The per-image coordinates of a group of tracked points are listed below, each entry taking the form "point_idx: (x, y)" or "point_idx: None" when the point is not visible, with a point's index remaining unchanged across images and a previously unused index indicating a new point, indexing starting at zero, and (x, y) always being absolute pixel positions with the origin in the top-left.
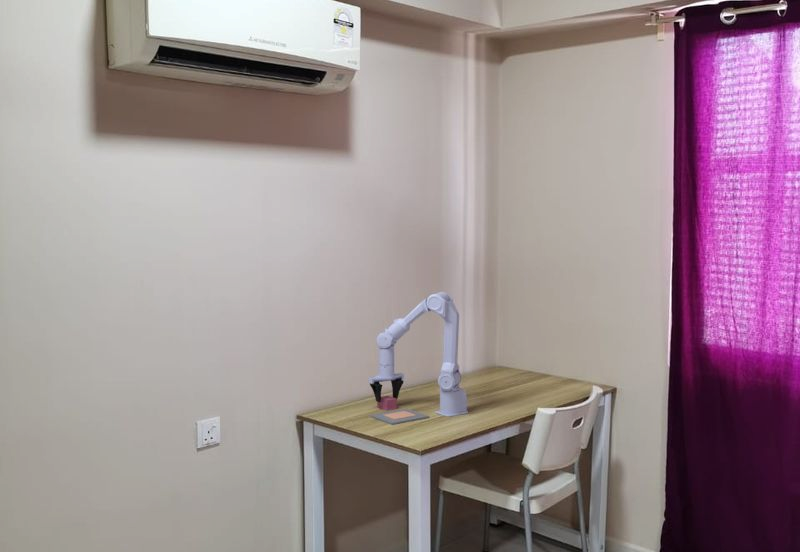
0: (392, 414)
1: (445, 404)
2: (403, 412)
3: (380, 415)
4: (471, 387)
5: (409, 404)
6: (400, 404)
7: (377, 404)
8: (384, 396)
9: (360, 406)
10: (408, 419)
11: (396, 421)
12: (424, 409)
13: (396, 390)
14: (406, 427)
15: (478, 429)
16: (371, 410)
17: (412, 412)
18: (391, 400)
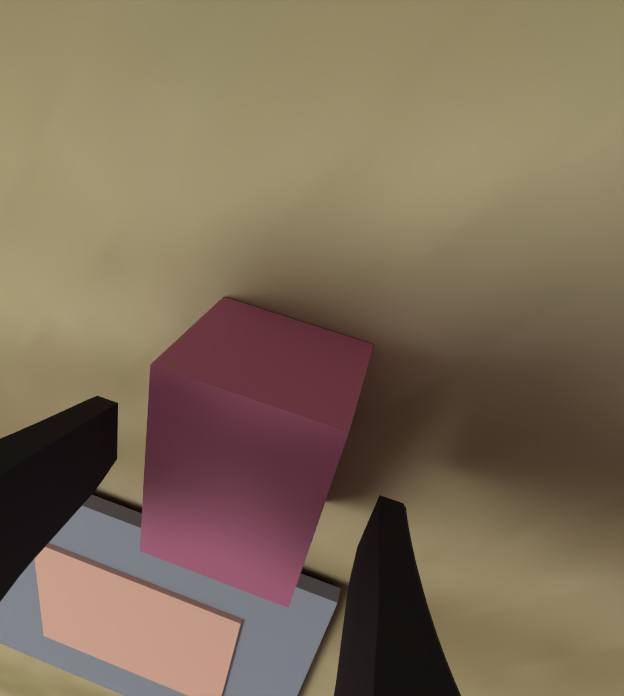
0: (97, 590)
1: None
2: (200, 630)
3: None
4: None
5: (616, 515)
6: (556, 432)
7: (205, 320)
8: (269, 431)
9: (101, 41)
10: (118, 686)
11: (35, 649)
12: (481, 676)
13: (342, 683)
14: (52, 686)
15: None
16: (101, 319)
17: (264, 668)
18: (211, 567)
